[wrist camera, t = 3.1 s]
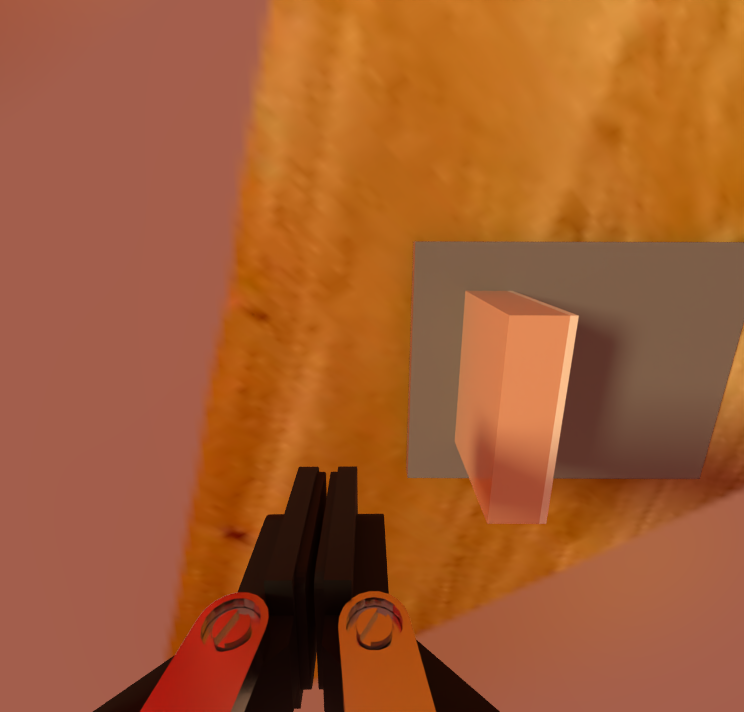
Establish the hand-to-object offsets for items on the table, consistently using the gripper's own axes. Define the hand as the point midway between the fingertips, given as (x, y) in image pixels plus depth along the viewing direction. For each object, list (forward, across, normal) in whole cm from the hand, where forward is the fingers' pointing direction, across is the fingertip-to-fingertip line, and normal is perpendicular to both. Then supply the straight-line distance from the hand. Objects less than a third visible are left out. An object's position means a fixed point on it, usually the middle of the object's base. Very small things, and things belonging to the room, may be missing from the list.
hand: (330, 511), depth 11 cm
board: (+12, -13, -1) cm, 18 cm away
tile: (+11, -8, -1) cm, 14 cm away
